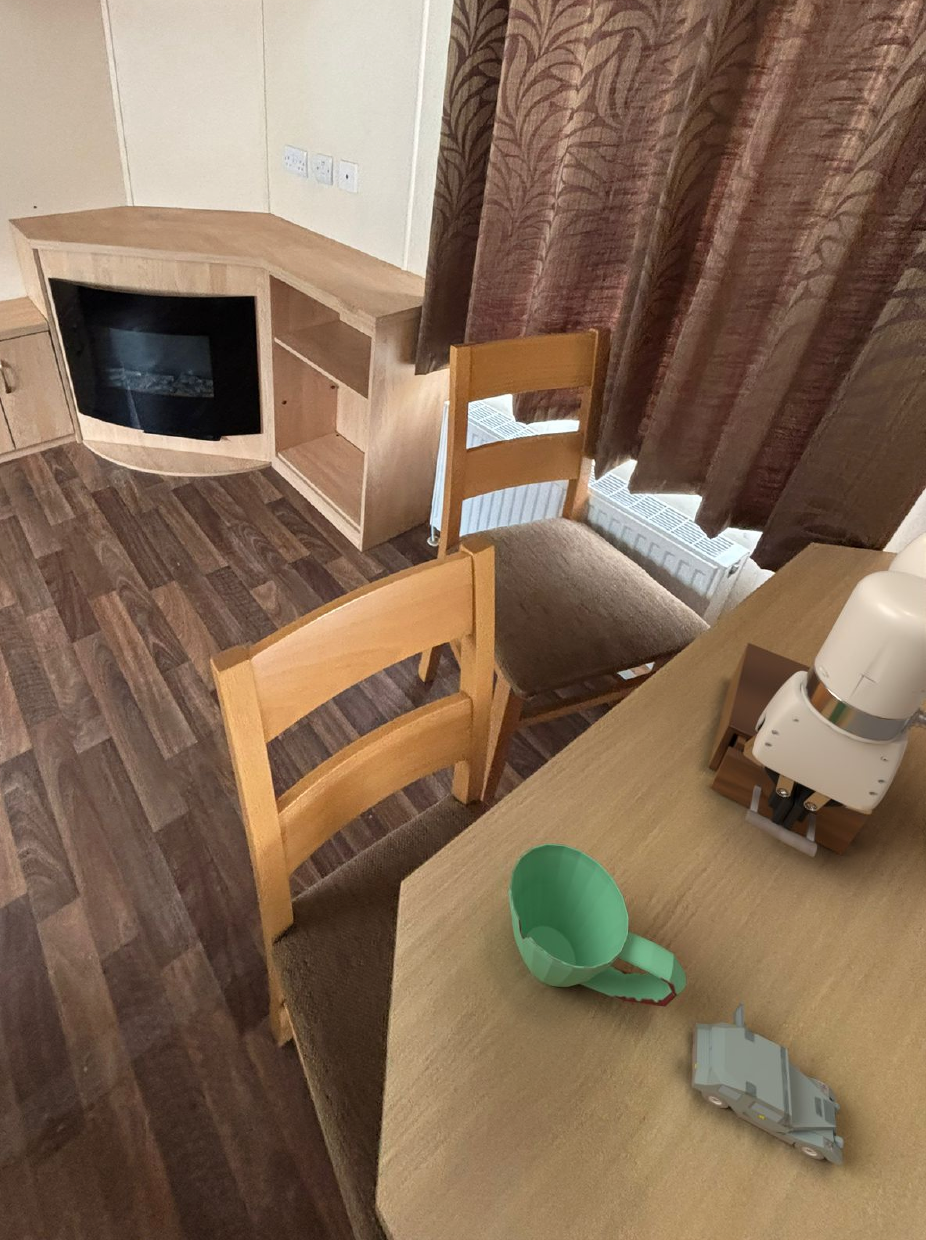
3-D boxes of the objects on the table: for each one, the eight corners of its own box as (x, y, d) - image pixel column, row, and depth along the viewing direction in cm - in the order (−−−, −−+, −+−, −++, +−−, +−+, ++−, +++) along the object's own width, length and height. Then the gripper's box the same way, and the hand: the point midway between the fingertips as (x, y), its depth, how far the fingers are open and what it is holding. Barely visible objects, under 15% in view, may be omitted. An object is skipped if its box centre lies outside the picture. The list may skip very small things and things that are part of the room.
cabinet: (846, 838, 72) (878, 794, 68) (707, 769, 79) (728, 725, 75) (852, 739, 83) (880, 695, 78) (728, 685, 89) (748, 642, 85)
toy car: (832, 1171, 51) (858, 1151, 49) (687, 1092, 55) (704, 1069, 53) (822, 1071, 56) (845, 1048, 54) (689, 1005, 60) (705, 980, 58)
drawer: (839, 895, 67) (865, 861, 64) (701, 822, 73) (719, 787, 70) (848, 757, 80) (870, 723, 76) (730, 705, 86) (746, 671, 82)
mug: (480, 977, 62) (494, 923, 57) (513, 878, 69) (528, 823, 64) (652, 1087, 55) (685, 1038, 50) (669, 965, 63) (699, 911, 58)
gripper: (959, 709, 59) (870, 828, 69) (765, 633, 66) (708, 749, 76) (967, 775, 54) (868, 893, 63) (755, 684, 61) (695, 802, 71)
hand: (781, 814), depth 70 cm, fingers closed
